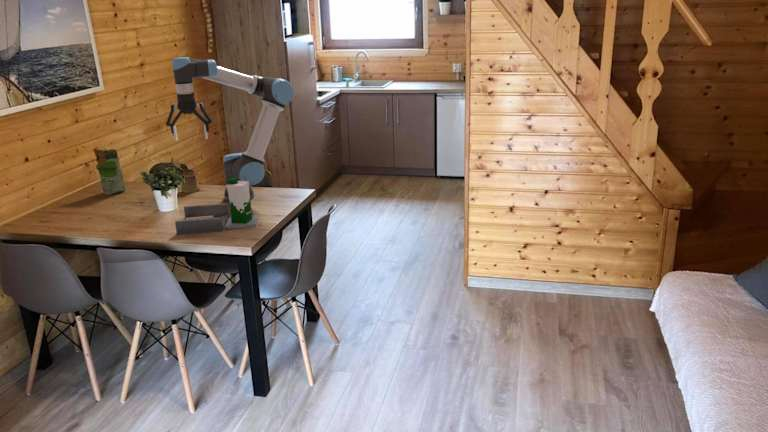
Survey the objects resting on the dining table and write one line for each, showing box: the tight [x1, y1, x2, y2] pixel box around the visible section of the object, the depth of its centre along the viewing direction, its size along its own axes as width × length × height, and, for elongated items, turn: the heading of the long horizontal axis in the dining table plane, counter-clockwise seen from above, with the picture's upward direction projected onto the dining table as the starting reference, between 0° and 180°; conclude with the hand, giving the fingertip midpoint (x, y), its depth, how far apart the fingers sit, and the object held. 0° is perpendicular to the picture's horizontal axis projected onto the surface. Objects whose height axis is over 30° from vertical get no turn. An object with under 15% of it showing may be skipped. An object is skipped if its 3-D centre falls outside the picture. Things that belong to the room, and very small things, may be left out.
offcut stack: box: [185, 215, 215, 220], centre depth 284 cm, size 6×16×5 cm, turn 96°
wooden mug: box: [170, 157, 200, 194], centre depth 340 cm, size 9×14×18 cm, turn 78°
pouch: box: [92, 148, 126, 195], centre depth 340 cm, size 11×12×25 cm
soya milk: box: [225, 177, 253, 224], centre depth 286 cm, size 9×9×20 cm
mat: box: [225, 214, 259, 229], centre depth 290 cm, size 13×13×1 cm
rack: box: [174, 202, 230, 236], centre depth 288 cm, size 22×20×6 cm
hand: (191, 139), depth 290 cm, fingers open, 13 cm apart
